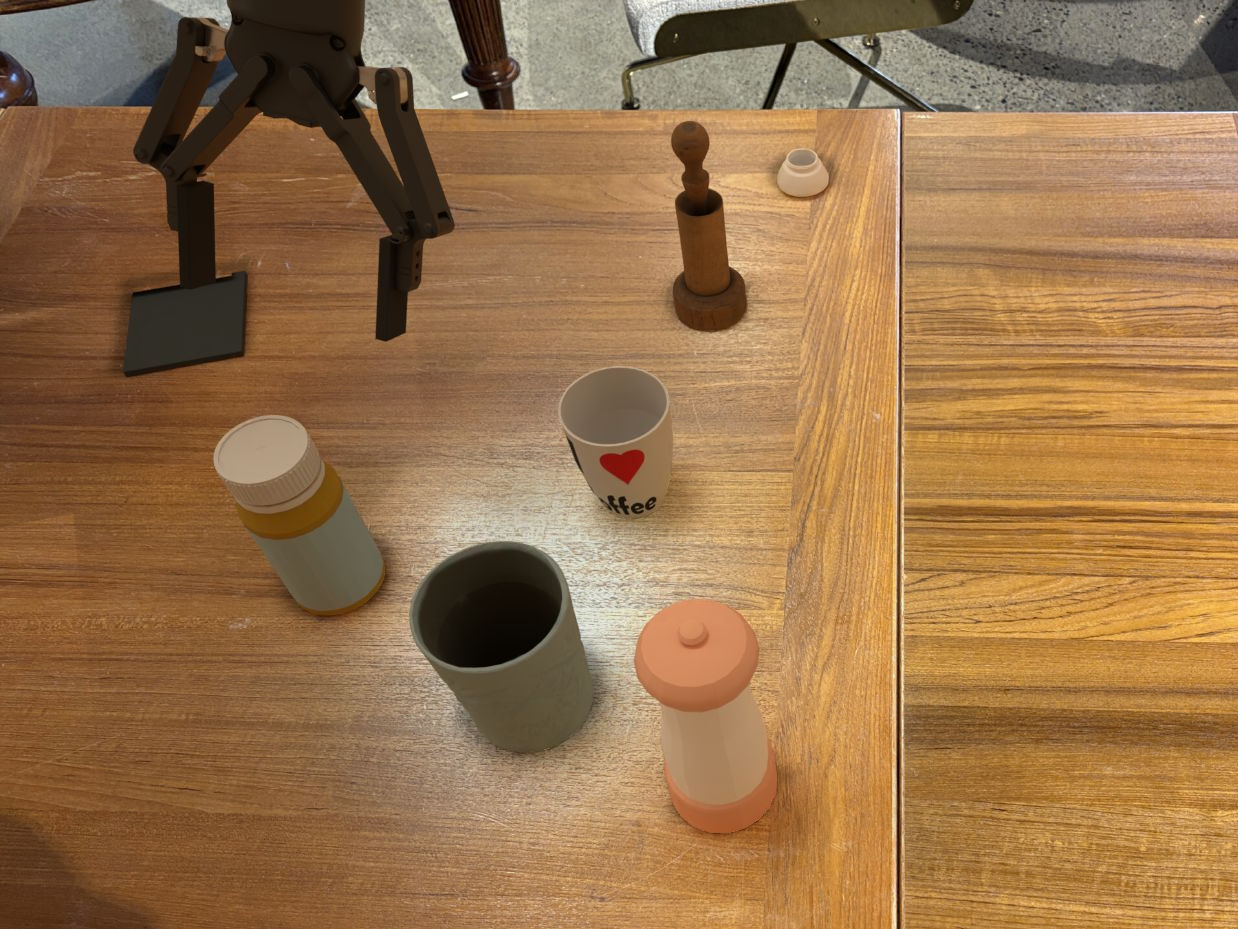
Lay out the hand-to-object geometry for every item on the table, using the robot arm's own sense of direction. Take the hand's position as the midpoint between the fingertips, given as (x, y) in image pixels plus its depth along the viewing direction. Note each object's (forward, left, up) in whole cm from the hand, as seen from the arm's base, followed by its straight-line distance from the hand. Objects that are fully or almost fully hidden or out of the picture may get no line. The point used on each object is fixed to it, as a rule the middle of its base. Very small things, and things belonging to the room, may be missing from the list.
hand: (294, 310), depth 80 cm
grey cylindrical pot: (+9, -22, -20) cm, 31 cm away
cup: (+19, -5, -20) cm, 28 cm away
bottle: (-4, -8, -20) cm, 21 cm away
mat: (-17, +25, -19) cm, 36 cm away
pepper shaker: (+21, -32, -20) cm, 43 cm away
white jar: (+41, +30, -20) cm, 55 cm away
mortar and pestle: (+29, +15, -20) cm, 38 cm away
